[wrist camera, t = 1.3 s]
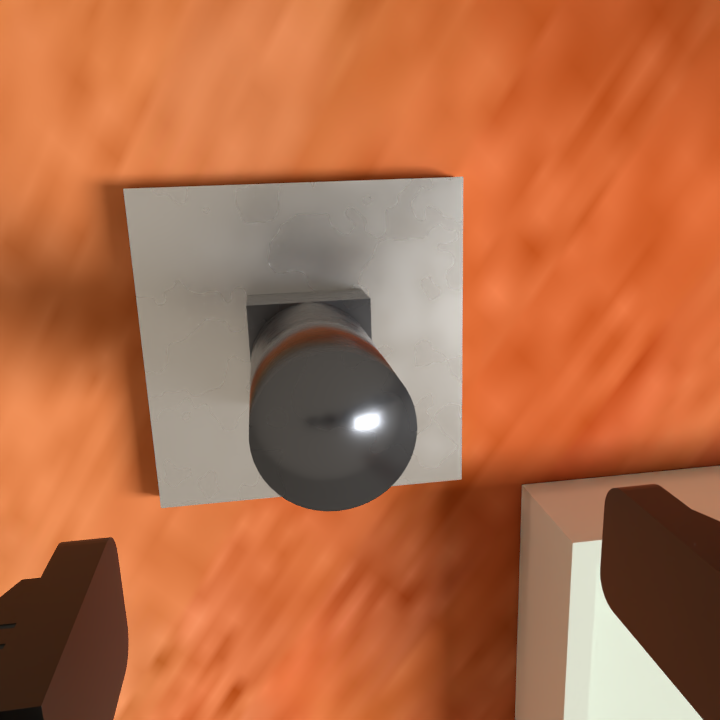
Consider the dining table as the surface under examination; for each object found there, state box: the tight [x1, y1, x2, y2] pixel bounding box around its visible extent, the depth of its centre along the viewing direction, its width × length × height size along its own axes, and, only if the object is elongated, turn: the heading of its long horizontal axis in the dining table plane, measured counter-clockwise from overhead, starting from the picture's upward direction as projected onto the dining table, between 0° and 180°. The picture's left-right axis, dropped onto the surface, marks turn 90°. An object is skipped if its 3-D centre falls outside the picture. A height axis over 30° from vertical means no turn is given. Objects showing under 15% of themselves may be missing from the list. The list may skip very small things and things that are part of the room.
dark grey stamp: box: [246, 289, 417, 511], centre depth 21 cm, size 4×4×9 cm
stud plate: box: [123, 177, 463, 508], centre depth 25 cm, size 12×12×3 cm
